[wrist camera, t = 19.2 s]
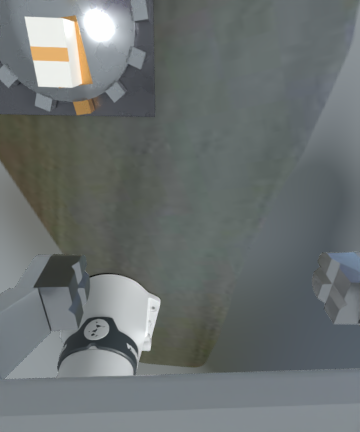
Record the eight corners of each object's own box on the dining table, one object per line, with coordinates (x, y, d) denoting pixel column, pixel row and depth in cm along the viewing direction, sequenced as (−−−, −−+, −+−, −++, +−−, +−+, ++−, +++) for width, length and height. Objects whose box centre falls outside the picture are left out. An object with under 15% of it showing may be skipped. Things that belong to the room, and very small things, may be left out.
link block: (82, 83, 33) (72, 87, 30) (51, 82, 33) (38, 86, 30) (74, 21, 30) (62, 18, 27) (40, 20, 30) (24, 16, 27)
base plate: (155, 115, 39) (154, 116, 38) (2, 112, 38) (-2, 114, 37) (151, -93, 29) (151, -97, 28) (-57, -105, 28) (-64, -110, 27)
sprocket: (174, -35, 30) (177, -60, 23) (120, 134, 38) (110, 153, 32) (-22, -146, 26) (-92, -218, 19) (-34, 73, 34) (-85, 79, 27)
